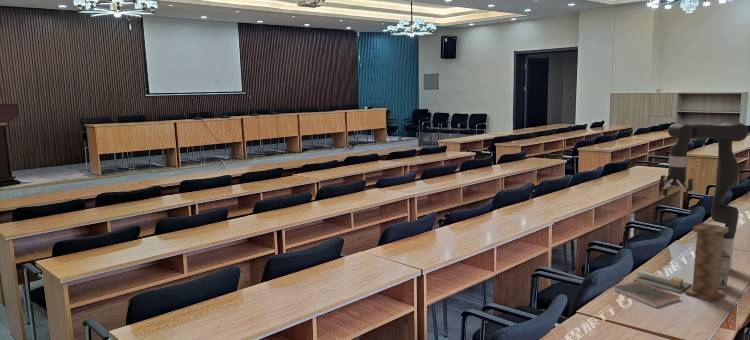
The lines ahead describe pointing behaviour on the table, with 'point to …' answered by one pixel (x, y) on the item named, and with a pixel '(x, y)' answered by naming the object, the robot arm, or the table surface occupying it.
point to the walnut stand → (707, 262)
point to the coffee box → (724, 270)
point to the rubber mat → (664, 285)
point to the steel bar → (661, 279)
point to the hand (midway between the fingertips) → (674, 197)
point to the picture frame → (647, 293)
